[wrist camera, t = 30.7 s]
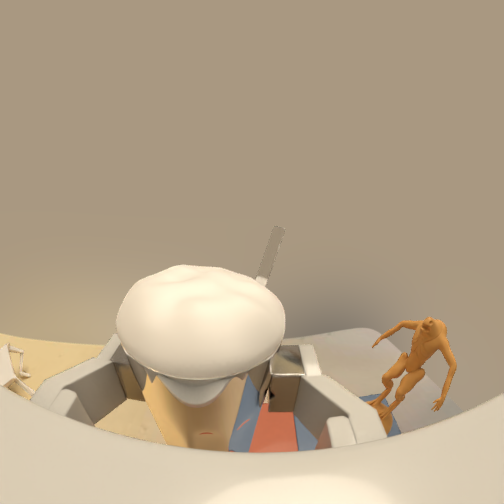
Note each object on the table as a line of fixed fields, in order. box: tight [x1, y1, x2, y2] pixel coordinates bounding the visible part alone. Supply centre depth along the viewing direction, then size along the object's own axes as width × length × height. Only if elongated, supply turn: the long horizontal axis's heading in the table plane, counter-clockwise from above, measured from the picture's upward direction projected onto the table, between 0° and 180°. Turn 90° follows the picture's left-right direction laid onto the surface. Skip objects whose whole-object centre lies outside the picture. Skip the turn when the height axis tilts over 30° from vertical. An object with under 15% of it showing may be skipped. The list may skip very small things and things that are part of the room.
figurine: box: [366, 317, 457, 435], centre depth 16 cm, size 8×6×12 cm
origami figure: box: [0, 343, 35, 396], centre depth 16 cm, size 12×8×5 cm
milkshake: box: [116, 226, 285, 452], centre depth 8 cm, size 5×5×10 cm
